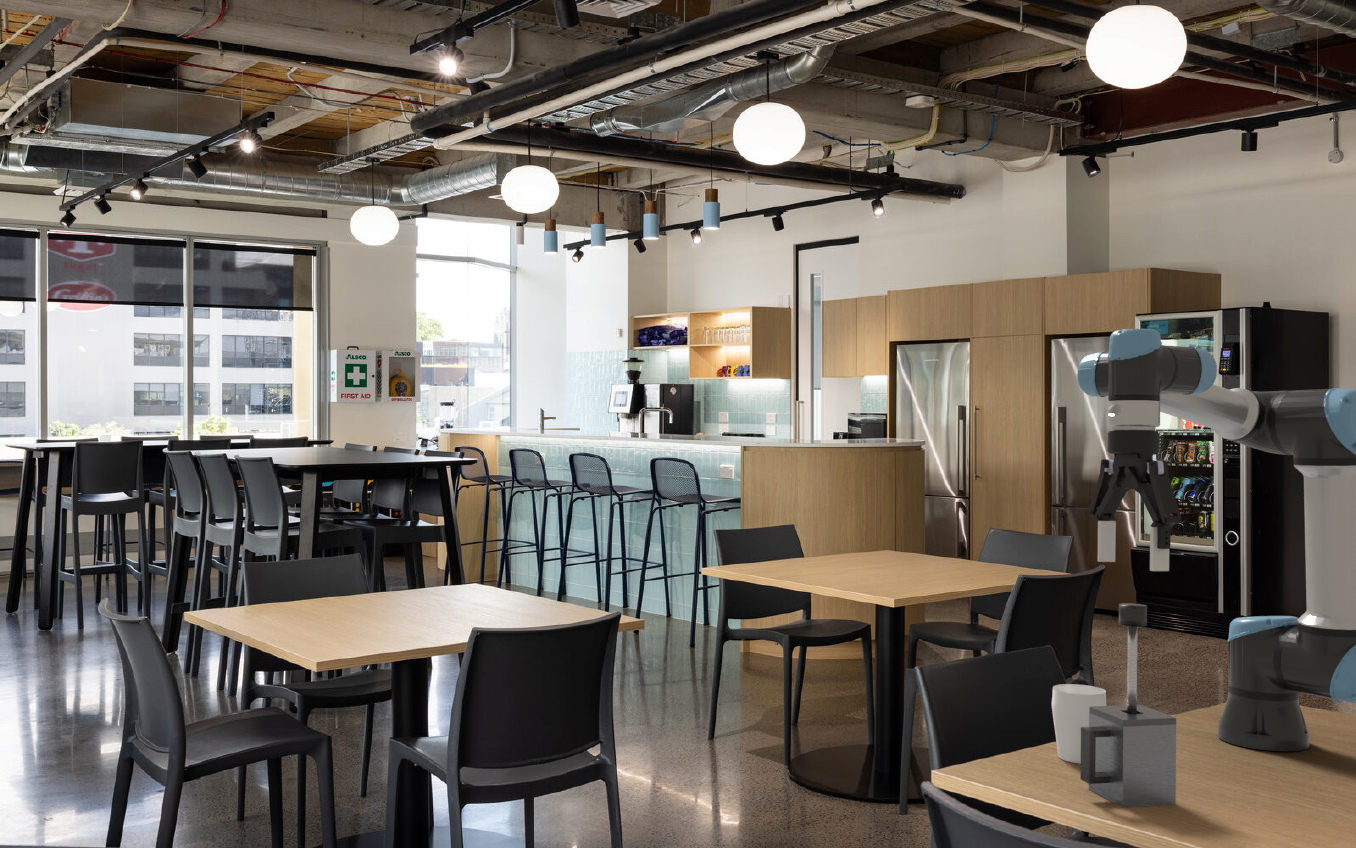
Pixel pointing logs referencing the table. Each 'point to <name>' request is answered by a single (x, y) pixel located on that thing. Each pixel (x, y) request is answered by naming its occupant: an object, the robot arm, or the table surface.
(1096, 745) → the grey box with handle
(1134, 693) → the plunger
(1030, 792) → the table surface
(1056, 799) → the table surface
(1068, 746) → the cup
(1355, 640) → the robot arm
